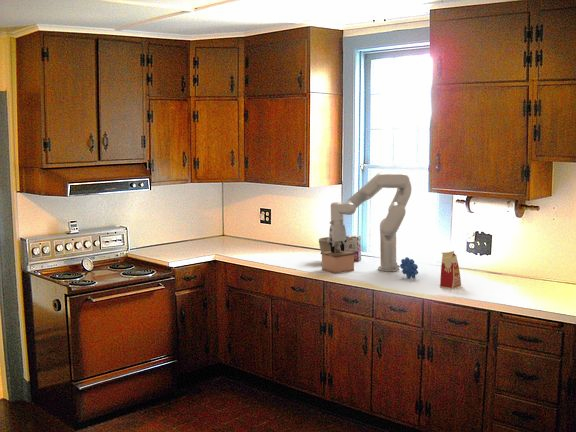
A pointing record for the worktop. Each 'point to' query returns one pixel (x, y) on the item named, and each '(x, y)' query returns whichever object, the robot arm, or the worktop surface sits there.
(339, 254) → the lid
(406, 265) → the grapes
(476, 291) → the worktop surface
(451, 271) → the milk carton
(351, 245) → the candy bar box
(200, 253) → the worktop surface
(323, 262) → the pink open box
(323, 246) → the plant pot
